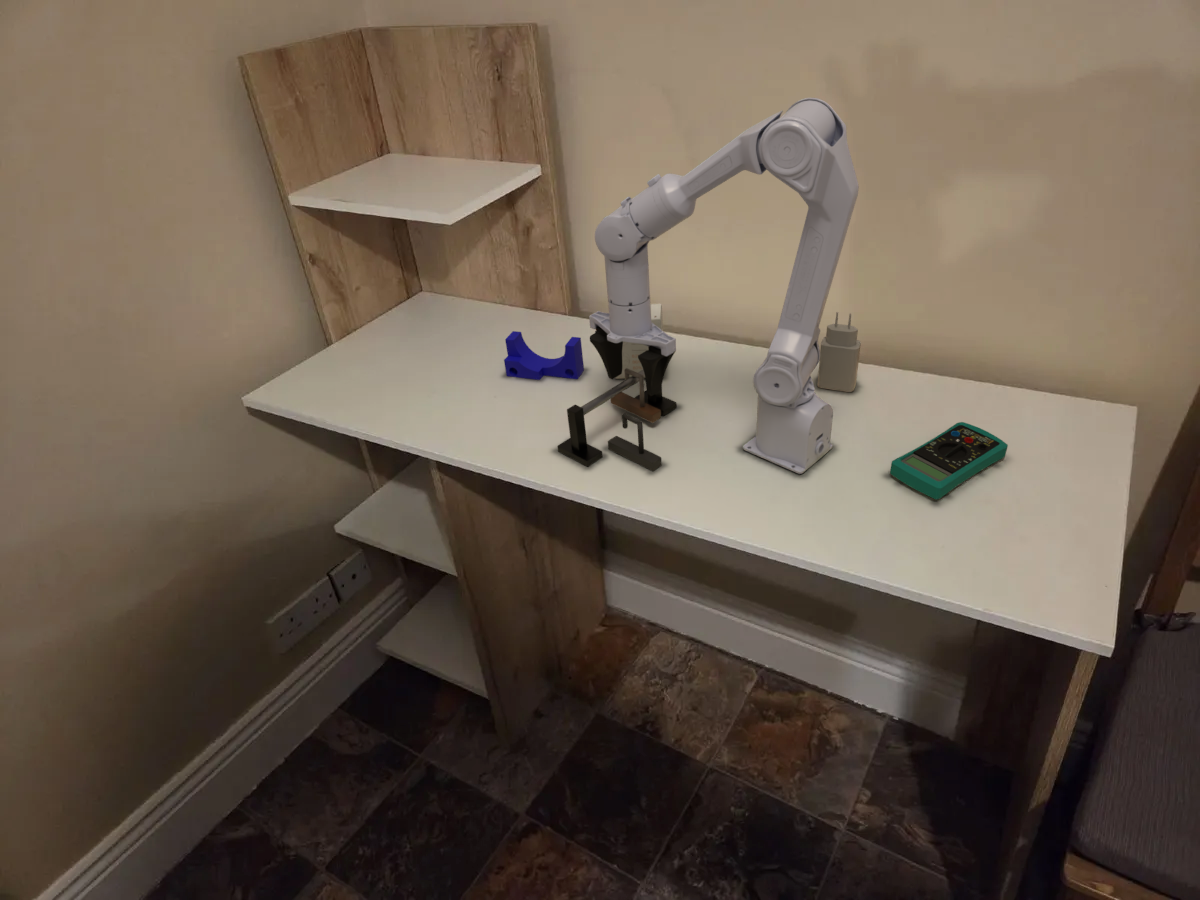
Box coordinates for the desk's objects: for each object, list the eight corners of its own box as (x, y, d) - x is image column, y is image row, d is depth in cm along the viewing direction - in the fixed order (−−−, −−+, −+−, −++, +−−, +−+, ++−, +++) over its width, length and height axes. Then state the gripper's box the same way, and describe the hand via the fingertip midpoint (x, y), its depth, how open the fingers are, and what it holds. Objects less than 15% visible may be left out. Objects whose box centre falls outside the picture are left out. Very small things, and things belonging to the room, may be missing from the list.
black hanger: (661, 465, 110) (660, 424, 106) (653, 471, 109) (650, 430, 105) (617, 443, 115) (613, 403, 111) (608, 449, 114) (604, 409, 110)
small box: (665, 361, 133) (662, 302, 127) (664, 378, 128) (661, 318, 122) (616, 362, 134) (612, 304, 128) (614, 379, 129) (609, 320, 123)
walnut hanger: (661, 417, 117) (660, 378, 113) (652, 423, 116) (651, 384, 112) (619, 398, 122) (616, 360, 118) (610, 403, 121) (608, 364, 117)
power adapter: (852, 392, 120) (861, 319, 113) (816, 387, 122) (822, 315, 115) (856, 382, 122) (865, 310, 115) (820, 377, 124) (827, 305, 118)
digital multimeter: (1008, 457, 105) (1013, 438, 103) (935, 504, 98) (939, 485, 97) (958, 434, 110) (962, 415, 108) (886, 477, 104) (889, 458, 102)
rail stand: (677, 407, 121) (675, 363, 117) (587, 467, 111) (582, 421, 106) (647, 395, 125) (644, 351, 120) (557, 451, 114) (551, 406, 110)
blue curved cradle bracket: (506, 376, 133) (501, 343, 129) (517, 363, 136) (512, 331, 133) (574, 384, 129) (570, 350, 126) (584, 370, 133) (580, 337, 129)
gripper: (570, 294, 111) (579, 380, 118) (649, 322, 102) (654, 412, 110) (606, 277, 115) (612, 360, 122) (685, 302, 106) (687, 390, 114)
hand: (634, 384), depth 116 cm, fingers open, 7 cm apart
